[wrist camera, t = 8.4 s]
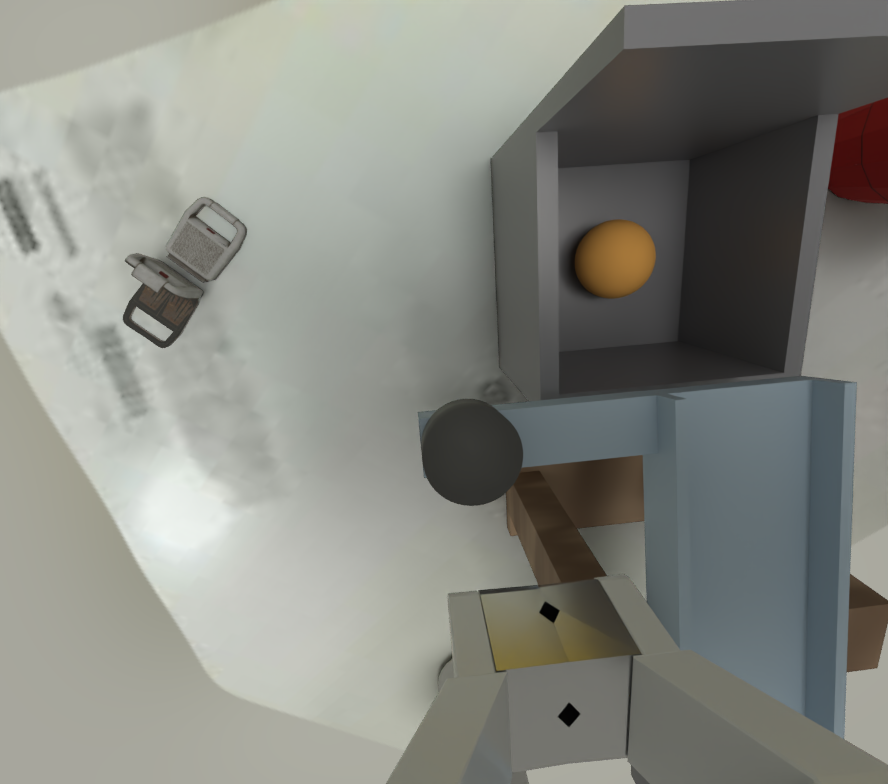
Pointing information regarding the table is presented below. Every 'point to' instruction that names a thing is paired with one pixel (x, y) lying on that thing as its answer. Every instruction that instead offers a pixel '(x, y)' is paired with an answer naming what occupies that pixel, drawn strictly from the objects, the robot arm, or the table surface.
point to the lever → (704, 512)
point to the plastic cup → (861, 154)
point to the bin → (680, 193)
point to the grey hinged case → (197, 255)
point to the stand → (622, 501)
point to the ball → (615, 258)
